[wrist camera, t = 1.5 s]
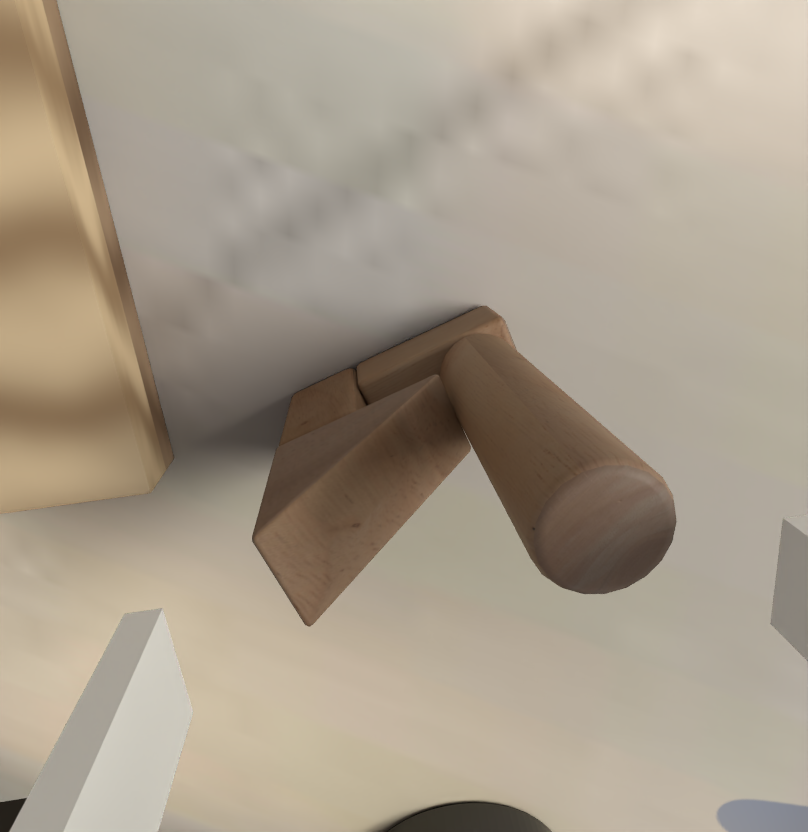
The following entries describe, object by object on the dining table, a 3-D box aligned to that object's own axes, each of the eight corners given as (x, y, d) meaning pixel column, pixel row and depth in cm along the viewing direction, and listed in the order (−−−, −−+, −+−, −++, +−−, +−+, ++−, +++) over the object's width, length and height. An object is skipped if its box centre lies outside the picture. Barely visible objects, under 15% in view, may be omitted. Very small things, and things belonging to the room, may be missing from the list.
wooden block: (289, 393, 31) (222, 626, 14) (485, 301, 30) (665, 428, 13) (322, 454, 32) (298, 736, 15) (511, 367, 31) (707, 560, 15)
